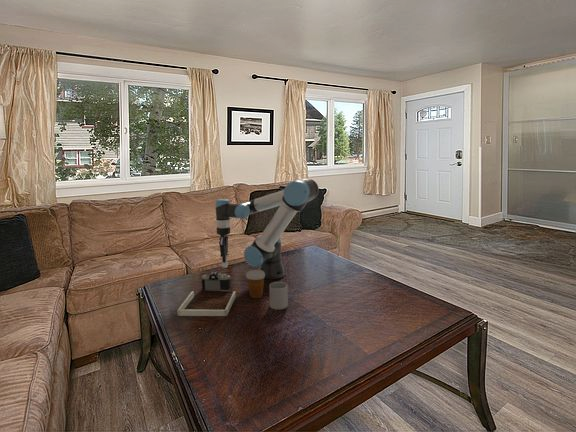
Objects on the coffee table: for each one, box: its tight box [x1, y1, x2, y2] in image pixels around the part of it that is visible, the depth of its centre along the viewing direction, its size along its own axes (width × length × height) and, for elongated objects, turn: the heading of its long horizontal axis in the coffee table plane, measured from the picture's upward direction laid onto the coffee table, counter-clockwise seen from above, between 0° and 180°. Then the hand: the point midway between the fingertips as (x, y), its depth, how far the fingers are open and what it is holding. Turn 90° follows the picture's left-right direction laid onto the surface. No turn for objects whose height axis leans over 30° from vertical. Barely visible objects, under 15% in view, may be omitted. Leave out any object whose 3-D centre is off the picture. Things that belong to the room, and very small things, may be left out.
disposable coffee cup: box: [245, 269, 265, 299], centre depth 173 cm, size 10×10×12 cm
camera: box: [201, 270, 232, 292], centre depth 183 cm, size 16×9×10 cm, turn 83°
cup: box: [268, 281, 289, 310], centre depth 162 cm, size 8×8×10 cm
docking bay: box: [176, 290, 237, 317], centre depth 164 cm, size 22×21×2 cm
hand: (224, 267), depth 200 cm, fingers closed
